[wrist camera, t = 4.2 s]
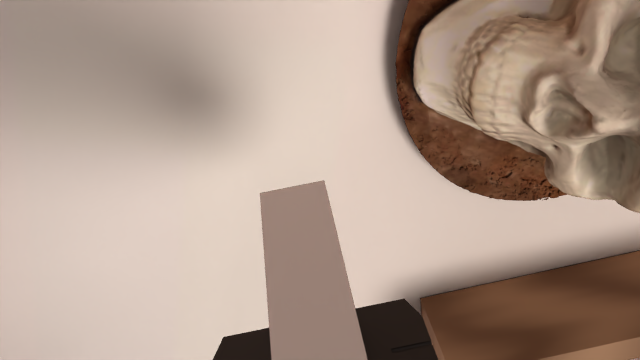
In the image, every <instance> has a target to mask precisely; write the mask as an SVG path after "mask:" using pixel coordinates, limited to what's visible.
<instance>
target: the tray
mask: <svg viewBox="0 0 640 360" xmlns="http://www.w3.org/2000/svg"><path fill="white" fill-rule="evenodd" d="M420 299H421V313H422V317H423V319H424V322H425V325H426V328H427V330H428V333H429V336H430V338H431V342H432V345H433V347H434V349H435V352H436V355H437V357H438V360H630V359H634V358H639V357H640V251H636V252H632V253H627V254H623V255H618V256H613V257H609V258H604V259H600V260H595V261H590V262H586V263H581V264H577V265H572V266H567V267H563V268H558V269H554V270H549V271H544V272H540V273H535V274H530V275H526V276H521V277H517V278H512V279H507V280H503V281H498V282H494V283H489V284H484V285H480V286H475V287H471V288H466V289H461V290H457V291H452V292H448V293H443V294H438V295H434V296H429V297H425V298H420Z"/></svg>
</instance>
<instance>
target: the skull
mask: <svg viewBox="0 0 640 360" xmlns="http://www.w3.org/2000/svg"><path fill="white" fill-rule="evenodd" d="M395 65H396V69H397V70H396V74H397V77H396V83H397V94H398V97H399V99H398V100H399V102H400V105H401V106H400V108H401V110H402V115H403V118H404V120H405V124H406V126H407V129H408V131H409V133H410V135H411V137H412V139H413V141H414V143H415V145H416V146H417V148H418V150H419V151H420V152H421V154H422V155H423V156H424V158H425V159H426V160H427V161H428V162H429V163H430V165H431V166H432V167H433V168H434V169H436V170H437V171H438V172H439V173H440V174H441V175H442V176H444V177H445V178H446V179H448V180H449V181H451V182H453V183H454V184H456V185H457V186H459V187H462V188H463V189H467V190H469V191H470V192H472V193H477V194H480V195H482V196H487V197H489V198H495V199H503V200H518V201H519V200H523V201H526V200H528V201H531V200H538V199H540V200H541V198H546V197H550V198H557V197H558V196H562V195H567V194H568V195H571V196H576V197H583V198H587V199H593V200H602V199H610V200H615V201H616V202H617V203H618V204H620V205H621V206H623V207H625V208H627V209H629V210H631V211H634V212H638V213H640V0H409V2H408V5H407V9H406V12H405V15H404V19H403V23H402V28H401V31H400V36H399V42H398V48H397V56H396V64H395ZM431 149H432V150H431ZM464 159H465V160H464ZM508 161H509V162H508ZM534 192H535V193H534ZM547 199H549V198H546V199H544V200H547Z"/></svg>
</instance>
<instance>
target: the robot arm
mask: <svg viewBox="0 0 640 360" xmlns="http://www.w3.org/2000/svg"><path fill="white" fill-rule="evenodd" d="M260 202H261V216H262V230H263V245H264V259H265V273H266V288H267V302H268V316H269V328H266V329H261V330H256V331H251V332H246V333H241V334H236V335H232V336H227V337H223V339H222V341H221V344H220V346H219V348H218V350H217V352H216V354H215V356H214V358H213V360H438V357H437V355H436V352H435V349H434V347H433V345H432V342H431V338H430V336H429V333H428V330H427V328H426V325H425V322H424V319H423V317H422V316H421V315H420V314H419V313H418V312H417V311H416V310H415V309H414V308H413V307H412V306H411V305H410V304H409V303H408V302H407V301H406V300H405V299H401V300H396V301H391V302H386V303H381V304H376V305H371V306H366V307H361V308H356V309H355V306H354V302H353V297H352V293H351V289H350V285H349V281H348V277H347V273H346V268H345V264H344V260H343V256H342V252H341V248H340V244H339V239H338V235H337V231H336V227H335V223H334V219H333V215H332V211H331V206H330V202H329V198H328V194H327V190H326V186H325V182H324V180H323V181H318V182H313V183H308V184H303V185H298V186H293V187H288V188H283V189H278V190H273V191H268V192H263V193H260Z"/></svg>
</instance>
